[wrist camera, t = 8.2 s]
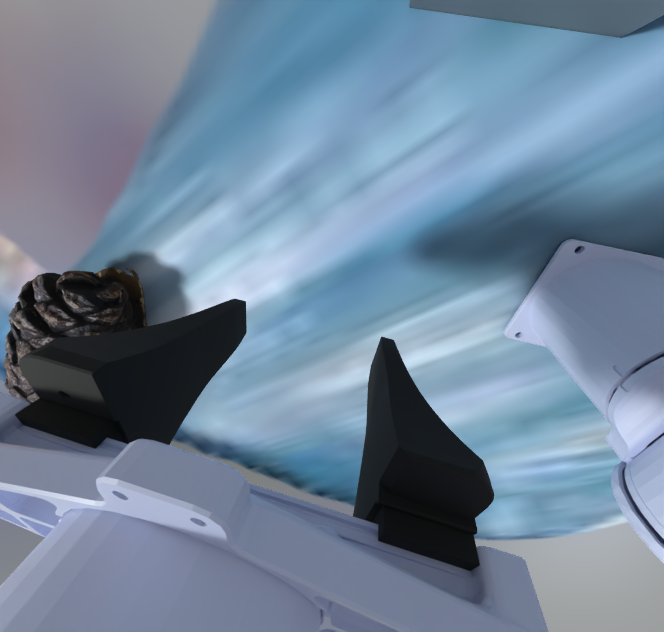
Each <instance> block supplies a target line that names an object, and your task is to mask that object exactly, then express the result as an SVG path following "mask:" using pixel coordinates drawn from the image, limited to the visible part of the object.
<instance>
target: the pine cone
mask: <svg viewBox="0 0 664 632" xmlns="http://www.w3.org/2000/svg"><path fill="white" fill-rule="evenodd" d="M125 269H126V268H125ZM127 270H129V271H130V272H132V273H133V275H134V277H133V276H130V275H127V274H126V273H125V272H123V271H121V270H119V268H117V269H104V270H101V271H99V272H98V273H96V274H94V273H93V272H86V271H67V272H64V273H63V274H62V275H60V274H56V273H44V274H41V275H38V276H37V277H36V278H35V279H33V280H32V281H28V282H27V283H26V284H25V285H24V286H23V287H22V290H21V293H20V295H19V296H18V299H19V302H17V303H16V305H15V308H13V310H12V311H11V313H10V314H9V317H10V320H9V321H10V324H11V331H10V332H9V333H8V334H7V336H6V345H5V350H6V351H8V353H7V354H6V356H5V357H6V359H5V363H4V366H5V368H6V377H7V379H6V380H5V386H6V388H7V389H8V390H9V393H10V394H11V395H12V396H14V397H17V398H20V399H22V400H25V401H26V402H28V403H29V404H31V403H33V402H34V401H36V400H37V399H39V397H38V395H37V394H36V393H35V391H34V390H33V388H32V387H31V386H30V384H29V383H28V381H27V380H26V378H25V377H24V376H23V374H22V372H21V370H20V367H19V361H20V358H21V357H22V356H24V355H26V354H28V353H30V352H32V351H33V350H35V349H37V348H39V347H41V346H43V345H45V344H47V343H48V342H50V341H52V340H54V339H56V338H60V337H75V336H89V335H99V334H108V333H115V332H122V331H128V330H134V329H139V328H144V327H147V326H146V320H145V305H144V296H143V289H142V286H141V283H140V282H139V278H138V277H137V275H136V273H135V272H134V271H133V270H131V269H127Z"/></svg>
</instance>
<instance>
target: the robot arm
mask: <svg viewBox="0 0 664 632" xmlns="http://www.w3.org/2000/svg"><path fill="white" fill-rule="evenodd" d="M579 246H581V249H580V250H579V251H577V252H575V249H576V248H577V247H579ZM519 332H521V333H520V334H518V335H515V334H516V333H519ZM245 334H246V301H242V300H238V299H232V300H229V301H226V302H224V303H221V304H218V305H216V306H213V307H210V308H208V309H205V310H203V311H200V312H197V313H194V314H191V315H188V316H185V317H182V318H179V319H176V320H173V321H169V322H166V323H162V324H158V325H154V326H149V327H144V328H139V329H134V330H128V331H122V332H115V333H108V334H99V335H89V336H75V337H60V338H56V339H54V340H52V341H50V342H48V343H47V344H45V345H43V346H41V347H39V348H37V349H35V350H33V351H32V352H30V353H28V354H26V355H24V356H22V357H21V358H20V361H19V367H20V370H21V372H22V374H23V376H24V377H25V378H26V380H27V381H28V383H29V384H30V386H31V387H32V388H33V390H34V391H35V393H36V394H37V395H38V397H39V399H37V400H36V401H34V402H33V403H31V404H29V403H28V402H26V401H25V400H22V399H20V398H17V397H14V396H10V395H8V394H4V393H1V392H0V518H1V519H4V520H6V521H8V522H11V523H13V524H15V525H18V526H20V527H22V528H25V529H27V530H29V531H32V532H34V533H36V534H39V535H41V536H44V537H45V538H44V540H42V542H41V543H40V544H39V545H38V546H37V547H36V548H35V549H34V550H33V551H32V552H31V554H30V555H29V556H28V557H27V558H26V559H25V560H24V561H23V562H22V563H21V564H20V565H19V567H18V568H17V569H16V570H15V571H14V572H13V573H12V574H11V575H10V576H9V577H8V578H7V579H6V581H5V582H4V583H3V584H2V585H1V586H0V632H548V629H547V626H546V623H545V619H544V617H543V613H542V610H541V608H540V605H539V601H538V598H537V595H536V592H535V589H534V586H533V583H532V580H531V577H530V574H529V571H528V568H527V565H526V562H525V560H524V559H523V558H522V557H519V556H516V555H513V554H509V553H506V552H503V551H500V550H497V549H494V548H490V547H485V546H478V547H476V545H475V540H474V535H475V534H476V533H477V527H476V522H475V518H476V517H477V516H478V515H479V514H480V513H482V512H483V511H484V510H485V509H486V508H488V506H489V505H490V504H491V503H492V501H493V499H494V492H493V489H492V486H491V482H490V479H489V476H488V473H487V470H486V468H485V465H484V462H483V460H482V459H480V458H479V457H478V456H477V455H476V454H475V453H474V452H473V451H472V450H471V449H469V448H468V447H467V446H466V445H465V444H464V443H463V442H462V441H461V440H460V439H459V438H458V437H457V436H456V435H455V434H454V433H453V432H452V431H451V430H450V429H449V428H448V427H447V426H446V425H445V423H444V422H443V421H442V420H441V419H440V418H439V417H438V415H437V414H436V413H435V412H434V411H433V409H432V408H431V407H430V405H429V404H428V403H427V402H426V400H425V399H424V397H423V396H422V394H421V393H420V392H419V390H418V388H417V387H416V385H415V383H414V382H413V380H412V378H411V376H410V375H409V373H408V371H407V369H406V367H405V365H404V363H403V361H402V358H401V356H400V354H399V351H398V349H397V347H396V344H395V342H394V340H392V339H388V338H384V337H381V339H380V342H379V345H378V348H377V351H376V354H375V356H374V359H373V362H372V365H371V370H370V376H369V382H368V401H367V426H366V436H365V443H364V450H363V457H362V464H361V470H360V477H359V483H358V489H357V496H356V501H355V507H354V514H353V516H350V515H347V514H344V513H340V512H337V511H334V510H331V509H328V508H325V507H321V506H319V505H316V504H312V503H309V502H306V501H303V500H300V499H297V498H294V497H290V496H287V495H284V494H281V493H278V492H275V491H272V490H269V489H266V488H263V487H260V486H256V485H253V484H250V483H248V482H247V480H246V478H245V476H243V475H242V474H241V473H240V472H239V471H237V470H236V469H235V468H233V467H231V466H229V465H227V464H225V463H223V462H220V461H217V460H214V459H211V458H208V457H205V456H202V455H198V454H195V453H192V452H189V451H185V450H183V449H179V448H176V447H173V446H170V445H169V444H170V443H171V441H172V439H173V437H174V436H175V434H176V432H177V430H178V429H179V427H180V425H181V424H182V422H183V420H184V419H185V417H186V415H187V414H188V412H189V411H190V409H191V408H192V406H193V404H194V403H195V401H196V400H197V398H198V397H199V395H200V394H201V392H202V391H203V389H204V388H205V386H206V385H207V384H208V382H209V381H210V380H211V378H212V377H213V376H214V375H215V374H216V373H217V371H218V370H219V369H220V368H221V367H222V365H223V364H224V363H225V362H226V361H227V360H228V358H229V357H230V356H231V355H232V353H233V352H234V351H235V350H236V349H237V347H238V346H239V344H240V343H241V341H242V339H243V338H244V336H245ZM504 334H505V336H506V337H508V338H511V339H515V340H519V341H523V342H527V343H531V344H535V345H539V346H543V347H547V348H548V349H549V350H550V351H551V352H552V354H553V355H554V356H555V357H556V359H557V360H558V361H559V362H560V363H561V365H562V366H563V367H564V368H565V369H566V371H567V372H568V373H569V374H570V376H571V377H572V378H573V379H574V380H575V382H576V383H577V384H578V385H579V387H580V388H581V389H582V390H583V391H584V393H585V394H586V395H587V396H588V398H589V399H590V400H591V401H592V402H593V404H594V405H595V406H596V407H597V409H598V410H599V411H600V412H601V413H602V415H603V416H604V417H605V418H606V420H607V421H608V422H609V423H610V424H611V431H610V433H609V435H608V436H607V437H606V440H607V442H608V443H609V444H610V446H611V447H612V448H613V450H614V451H615V452H616V454H617V455H618V456H619V457H620V459H621V460H622V462H620V463H619V464H618V465H617V466H616V467H615V468H614V470H613V472H612V475H611V485H612V490H613V493H614V496H615V498H616V501H617V503H618V505H619V507H620V509H621V511H622V512H623V514H624V516H625V517H626V519H627V520H628V522H629V523H630V525H631V526H632V528H633V529H634V530H635V532H636V533H637V534H638V535H639V537H640V538H641V539H642V540H643V541H644V543H645V544H646V545H647V546H648V548H649V549H650V550H651V551H652V552H653V553H654V554H655V555H656V556H657V557H658V558H659V559H660V560H661V561H662V563H663V564H664V258H661V257H657V256H652V255H647V254H642V253H637V252H633V251H628V250H623V249H618V248H614V247H609V246H604V245H599V244H594V243H590V242H585V241H580V240H575V239H569V240H566V241H564V242H563V243H562V244H561V245H560V247H559V248H558V250H557V251H556V253H555V254H554V256H553V257H552V259H551V260H550V262H549V263H548V265H547V266H546V268H545V269H544V271H543V272H542V274H541V275H540V277H539V278H538V280H537V281H536V283H535V284H534V286H533V287H532V289H531V290H530V292H529V293H528V295H527V296H526V298H525V299H524V301H523V302H522V304H521V305H520V307H519V308H518V310H517V311H516V313H515V314H514V316H513V317H512V319H511V320H510V322H509V323H508V325H507V326H506V328H505V329H504ZM473 534H474V535H473Z"/></svg>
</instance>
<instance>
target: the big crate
mask: <svg viewBox="0 0 664 632" xmlns="http://www.w3.org/2000/svg"><path fill="white" fill-rule="evenodd" d="M410 8H417V9H424V10H431V11H438V12H445V13H452V14H459V15H466V16H473V17H480V18H487V19H494V20H501V21H508V22H515V23H522V24H529V25H536V26H543V27H550V28H557V29H564V30H571V31H578V32H585V33H592V34H599V35H606V36H613V37H620V38H622V37H624V36H626V35H628V34H630V33H632V32H633V31H635V30H637V29H639V28H641V27H643V26H645V25H646V24H648V23H650V22H652V21H654V20H656V19H658V18H659V17H661V16H663V15H664V0H410Z"/></svg>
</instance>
